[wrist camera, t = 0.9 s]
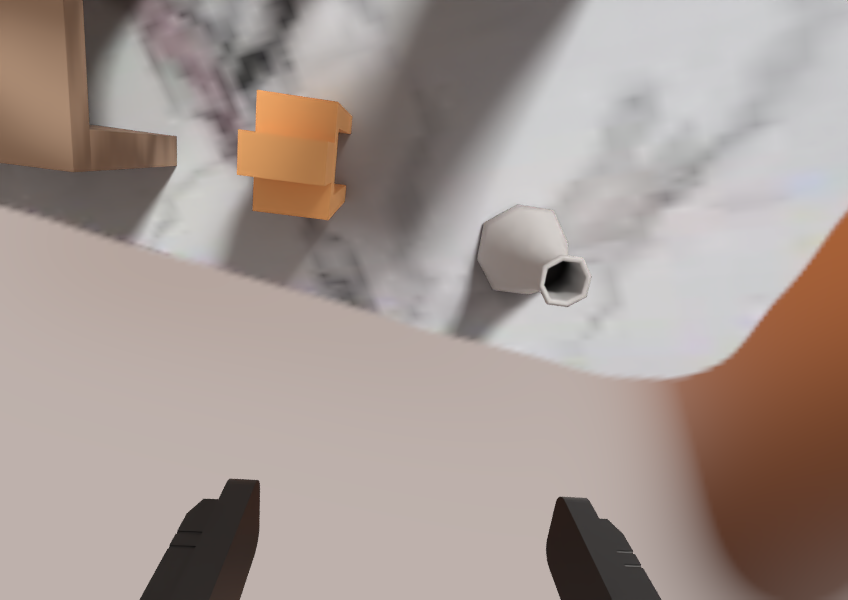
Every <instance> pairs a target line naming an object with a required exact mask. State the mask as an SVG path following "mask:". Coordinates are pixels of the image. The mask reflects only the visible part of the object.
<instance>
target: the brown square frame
mask: <svg viewBox="0 0 848 600" xmlns="http://www.w3.org/2000/svg"><path fill="white" fill-rule="evenodd" d="M0 163H6V164H13V165H21V166H29V167H37V168H45V169H53V170H61V171H68V172H85V171H101V170H117V169H133V168H149V167H165V166H177V136H170V135H162V134H155V133H148V132H140V131H133V130H126V129H119V128H111V127H104V126H97V125H89V109H88V90H87V71H86V52H85V33H84V14H83V0H0Z"/></svg>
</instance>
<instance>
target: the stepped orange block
mask: <svg viewBox="0 0 848 600" xmlns="http://www.w3.org/2000/svg"><path fill="white" fill-rule="evenodd" d="M351 127H352V116H351V115H350V114H349V113H348V112H347V111H346V110H345V109H344V108H343V107H342V105H341V104H340V103H339V102H335V101H328V100H322V99H315V98H308V97H302V96H295V95H288V94H282V93H275V92H268V91H261V90H257V103H256V131H255V132H254V131H247V130H240V129H238V156H237V175H243V176H251V177H254V185H253V211H259V212H267V213H275V214H283V215H291V216H299V217H307V218H315V219H323V220H329V219H330V218H331V217H332V216H333V215H334V213H335V212H336V211H337V210H338V209H339V208H340V207H341V205H342V204H343V203H344V202H345V195H346V185H341V184H334V181H335V169H336V157H337V144H338V132H339V133H346V134H351Z"/></svg>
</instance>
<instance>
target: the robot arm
mask: <svg viewBox="0 0 848 600" xmlns="http://www.w3.org/2000/svg"><path fill="white" fill-rule="evenodd" d="M259 509H260V483H259V481H258V480H244V479H229V480H228V481H227V483H226V485H225V487H224V489H223V491H222V494H221V496H220V497H219V499H203V500H202V501H201V502H200V503H198V504H197V505H196V506H195V507H194V508H193V509H191V510H190V511H189V512H188V513H187V514H186V516H185V518H184V520H183V522H182V523H181V525H180V527H179V529H178V532H177V534H176V535H175V536H174V538H173V540H172V542H171V543H170V547H169V549H167V551H166V553H165V554H164V556H163V558H162V560H161V562H160V564H159V566H158V567H157V569H156V571H155V573H154V575H153V577H152V578H151V580H150V582H149V584H148V585H147V587H146V589H145V591H144V593H143V595H142V597H141V598H140V600H240V597H241V594H242V591H243V588H244V585H245V582H246V579H247V576H248V573H249V570H250V567H251V564H252V561H253V558H254V555H255V551H256V547H257V542H258V536H259V515H260V511H259ZM546 554H547V562H548V565H549V569H550V571H551V574H552V577H553V580H554V582H555V585H556V588H557V591H558V593H559V596H560V599H561V600H661V598H660V597H659V595H658V593H657V591H656V590H655V588H654V586H653V585H652V583H651V581H650V579H649V578H648V576H647V574H646V573H645V571H644V569H643V568H641V564H640V562H639V560H638V559H637V557H636V555H635V554H633V550H632V549H631V547H630V545H629V543H628V542H627V540H626V538H625V537H624V535H623V534H622V533H621V532H620V531H619V530H618V529H617V528H616V527H615V526H614V525H613V524H612V523H611V522H610V521H609V520H608V519H599V518H598V516H597V514H596V512H595V510H594V508H593V506H592V505H591V503H590V501H589V500H588V499H587V498H574V497H559V498H558V499H557V501H556V504H555V508H554V512H553V517H552V521H551V525H550V529H549V534H548V538H547V544H546Z"/></svg>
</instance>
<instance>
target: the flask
mask: <svg viewBox="0 0 848 600" xmlns="http://www.w3.org/2000/svg"><path fill="white" fill-rule="evenodd" d="M477 260H478V262H479V264H480V266H481V268H482V270H483V272H484V274H485V276H486V277H487V279H488V281H489V283H490V285H491V287H492V289H493V290H497V291H504V292H512V293H519V294H527V295H528V294H532V293H536V292H541V294H542V296H543V298H544V300H545V302H546V304H549V305H557V306H564V307H568V306H570V305H572V304H574V303H576V302H578V301H580V300H582V299H584V298H586V297H587V293H588V289H589V286H590V282H591V278H592V276H591V274H590V272H589V269H588V267H587V265H586V263H585V260H584V258H582V257H575V256H568V242H567V239H566V237H565V235H564V233H563V230H562V228H561V226H560V224H559V221H558V219H557V217H556V215H555V212H554V210H550V209H543V208H537V207H530V206H524V205H516V206H514V207H512V208H510V209H508V210H506V211H505V212H503V213H501V214H499V215H497V216H495V217H493V218H492V219H490V220H488V221H486V222H484V225H483V230H482V236H481V241H480V246H479V252H478V257H477Z"/></svg>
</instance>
